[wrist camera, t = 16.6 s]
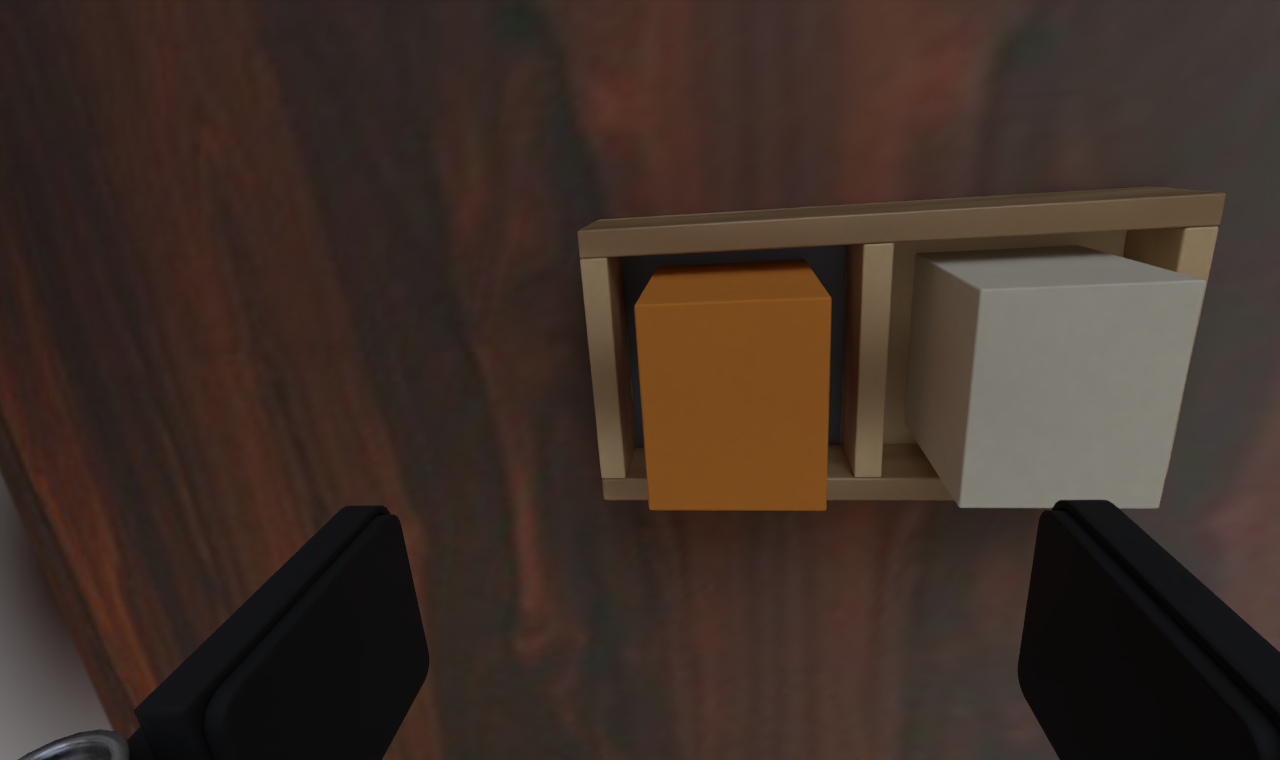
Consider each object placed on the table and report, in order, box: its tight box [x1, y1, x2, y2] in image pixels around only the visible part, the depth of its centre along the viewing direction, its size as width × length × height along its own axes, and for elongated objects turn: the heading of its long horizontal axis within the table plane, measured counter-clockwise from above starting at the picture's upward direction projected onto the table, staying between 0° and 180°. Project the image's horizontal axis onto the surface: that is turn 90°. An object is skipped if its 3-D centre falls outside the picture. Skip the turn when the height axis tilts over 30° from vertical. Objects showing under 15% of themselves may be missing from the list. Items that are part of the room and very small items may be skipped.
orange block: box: [634, 259, 832, 511], centre depth 19 cm, size 6×5×6 cm
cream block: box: [905, 245, 1206, 508], centre depth 18 cm, size 6×5×6 cm
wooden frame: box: [577, 186, 1226, 501], centre depth 20 cm, size 9×16×3 cm, turn 94°
